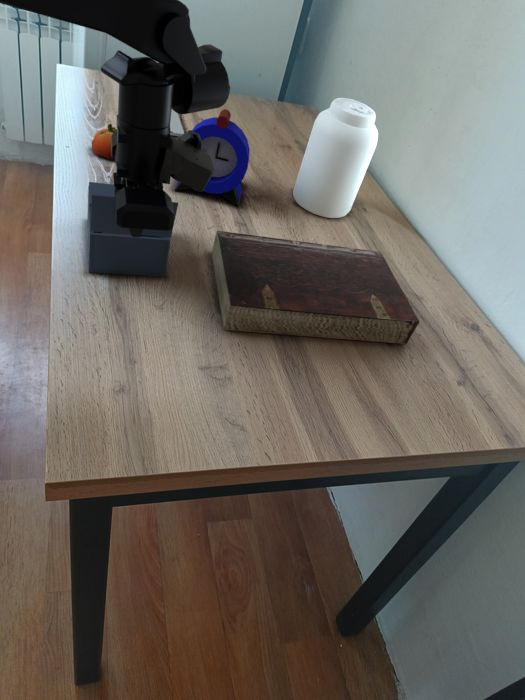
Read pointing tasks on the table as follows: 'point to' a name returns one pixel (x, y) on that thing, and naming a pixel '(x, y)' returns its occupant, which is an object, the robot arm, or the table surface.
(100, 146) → the pumpkin
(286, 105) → the table surface
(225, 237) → the hardback book
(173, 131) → the smartphone
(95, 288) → the table surface
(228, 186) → the alarm clock
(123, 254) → the carton
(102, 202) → the box lid
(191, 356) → the table surface
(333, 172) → the white plastic bottle
